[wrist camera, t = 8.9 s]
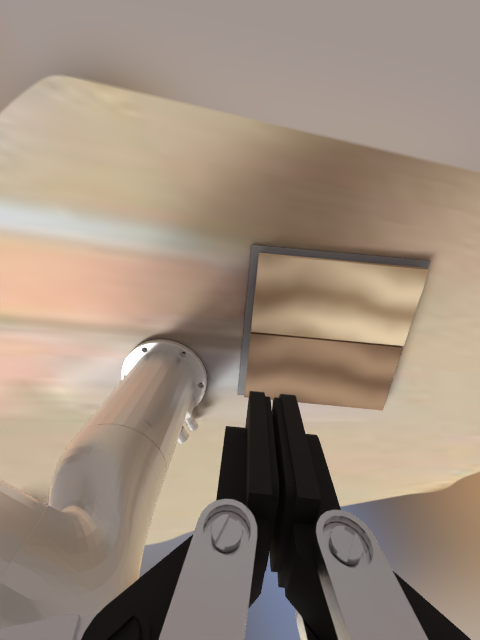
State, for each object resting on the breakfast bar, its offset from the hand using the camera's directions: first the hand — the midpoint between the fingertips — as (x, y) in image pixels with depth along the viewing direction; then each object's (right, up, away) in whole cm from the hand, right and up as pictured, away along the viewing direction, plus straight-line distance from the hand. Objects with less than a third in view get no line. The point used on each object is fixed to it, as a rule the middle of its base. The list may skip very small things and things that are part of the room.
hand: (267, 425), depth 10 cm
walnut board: (+10, -3, +29) cm, 31 cm away
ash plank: (+11, +7, +25) cm, 28 cm away
